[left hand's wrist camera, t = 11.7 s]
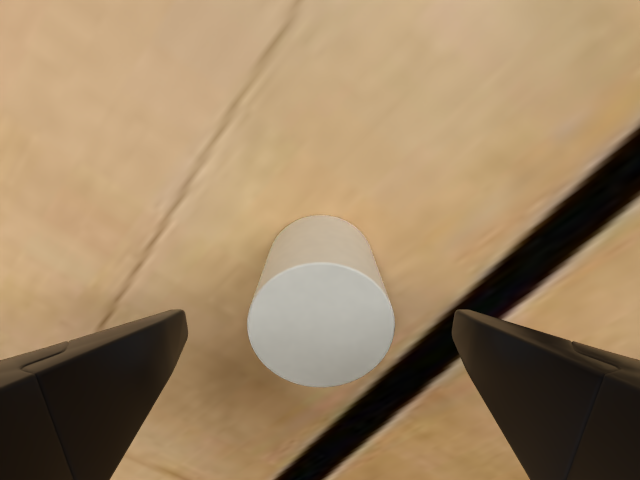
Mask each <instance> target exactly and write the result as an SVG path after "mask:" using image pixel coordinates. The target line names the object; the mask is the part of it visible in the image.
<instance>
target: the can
mask: <svg viewBox="0 0 640 480" xmlns="http://www.w3.org/2000/svg"><path fill="white" fill-rule="evenodd" d="M247 330H248V336H249V340H250V343H251V345H252V348H253V350H254V352H255V353H256V355H257V356H258V358H259V359H260V360H261V362H262V363H263V364H264V365H265V366H266V367H267V368H268V369H270V370H271V371H272V372H273V373H275V374H276V375H278V376H280V377H281V378H283V379H285V380H288V381H290V382H293V383H296V384H299V385H304V386H310V387H333V386H338V385H343V384H346V383H349V382H352V381H354V380H357V379H359V378H360V377H362V376H364V375H366V374H367V373H368V372H370V371H371V370H373V369H374V368H375V367H376V366H377V365H378V364H379V363H380V362H381V360H382V359H383V358H384V356H385V355H386V353H387V352H388V350H389V348H390V345H391V343H392V340H393V336H394V330H395V317H394V312H393V308H392V306H391V303H390V300H389V297H388V294H387V292H386V289H385V286H384V283H383V281H382V278H381V275H380V272H379V269H378V267H377V264H376V261H375V258H374V256H373V253H372V250H371V247H370V245H369V243H368V241H367V239H366V238H365V236H364V235H363V234H362V233H361V232H360V231H359V229H358V228H356V227H355V226H354V225H352V224H351V223H349V222H347V221H345V220H343V219H341V218H338V217H334V216H328V215H313V216H308V217H304V218H301V219H298V220H296V221H294V222H292V223H291V224H289V225H288V226H287V227H285V228H284V229H283V230H282V231H281V232H280V233H279V234H278V236H277V237H276V238H275V240H274V242H273V244H272V246H271V248H270V251H269V254H268V257H267V260H266V263H265V265H264V268H263V271H262V274H261V277H260V280H259V282H258V285H257V288H256V291H255V294H254V297H253V300H252V302H251V305H250V308H249V312H248V318H247Z"/></svg>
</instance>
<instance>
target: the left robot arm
mask: <svg viewBox="0 0 640 480" xmlns="http://www.w3.org/2000/svg"><path fill="white" fill-rule="evenodd" d="M187 337H188V328H187V322H186V316H185V312H184V311H183V310H169V311H166V312H162V313H159V314H156V315H152V316H149V317H146V318H143V319H139V320H136V321H133V322H130V323H126V324H123V325H120V326H116V327H113V328H110V329H107V330H103V331H100V332H97V333H94V334H90V335H87V336H84V337H80V338H77V339H74V340H71V341H69V342H67V341H66V342H63V343H59V344H56V345H53V346H49V347H46V348H42V349H39V350H36V351H32V352H29V353H25V354H22V355H18V356H14V357H11V358H7V359H3V360H0V480H110V478H111V477H112V475H113V473H114V472H115V470H116V468H117V466H118V465H119V463H120V461H121V460H122V458H123V456H124V454H125V453H126V451H127V449H128V448H129V446H130V444H131V443H132V441H133V439H134V437H135V436H136V434H137V432H138V431H139V429H140V427H141V426H142V424H143V422H144V420H145V419H146V417H147V415H148V414H149V412H150V410H151V409H152V407H153V405H154V403H155V402H156V400H157V398H158V397H159V395H160V393H161V391H162V390H163V388H164V386H165V385H166V383H167V381H168V380H169V378H170V376H171V374H172V372H173V370H174V368H175V366H176V364H177V361H178V359H179V357H180V354H181V352H182V350H183V347H184V345H185V343H186V340H187ZM452 337H453V340H454V343H455V345H456V347H457V350H458V352H459V354H460V357H461V359H462V361H463V364H464V366H465V368H466V370H467V372H468V374H469V376H470V378H471V380H472V381H473V383H474V385H475V386H476V388H477V390H478V391H479V393H480V395H481V397H482V398H483V400H484V402H485V403H486V405H487V407H488V409H489V410H490V412H491V414H492V415H493V417H494V419H495V420H496V422H497V424H498V426H499V427H500V429H501V431H502V432H503V434H504V436H505V437H506V439H507V441H508V443H509V444H510V446H511V448H512V449H513V451H514V453H515V454H516V456H517V458H518V460H519V461H520V463H521V465H522V466H523V468H524V470H525V472H526V473H527V475H528V477H529V478H530V480H640V360H637V359H633V358H629V357H626V356H622V355H618V354H615V353H611V352H608V351H604V350H601V349H598V348H594V347H591V346H587V345H584V344H581V343H577V342H574V341H573V342H571V341H569V340H566V339H563V338H560V337H556V336H553V335H550V334H546V333H543V332H540V331H537V330H533V329H530V328H527V327H524V326H520V325H517V324H514V323H510V322H507V321H504V320H501V319H497V318H494V317H491V316H488V315H484V314H481V313H478V312H474V311H471V310H457V311H456V312H455V316H454V322H453V328H452Z"/></svg>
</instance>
